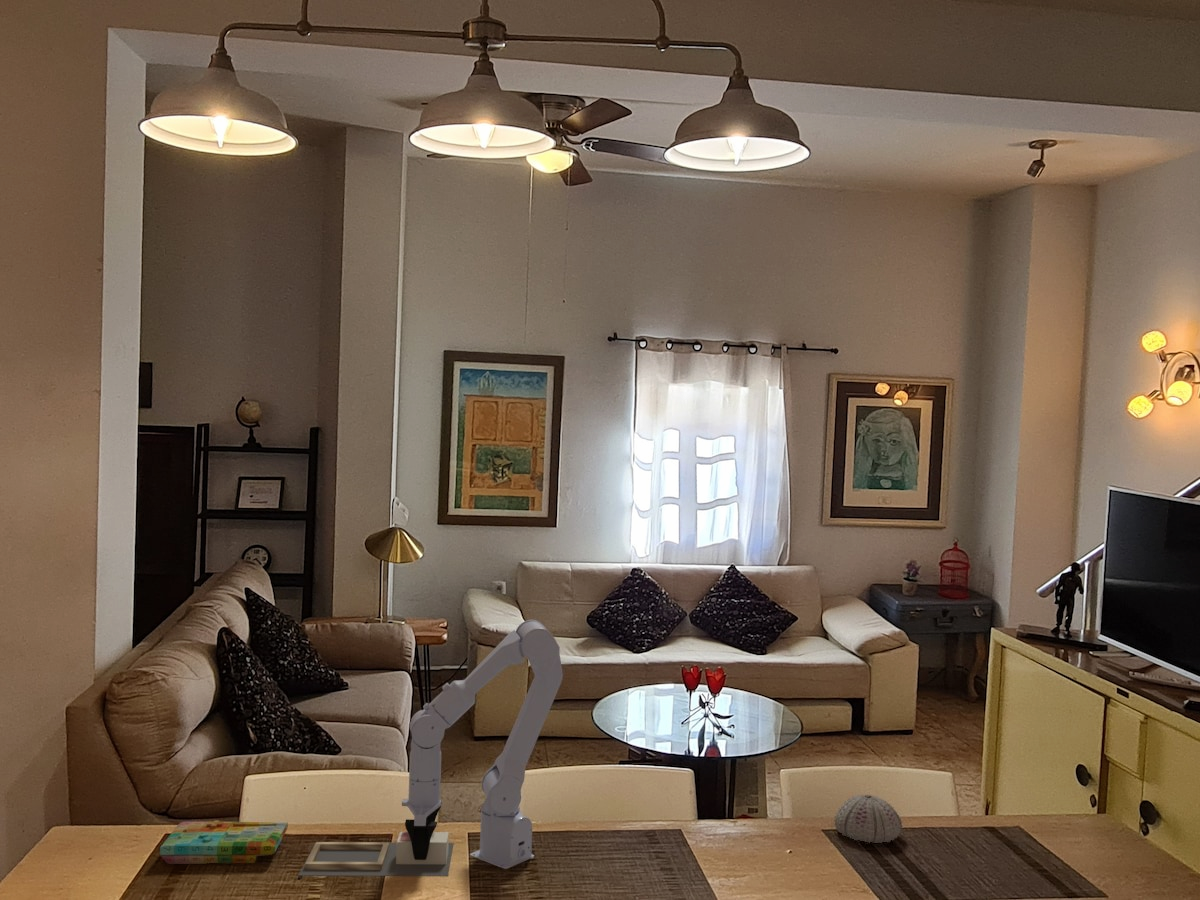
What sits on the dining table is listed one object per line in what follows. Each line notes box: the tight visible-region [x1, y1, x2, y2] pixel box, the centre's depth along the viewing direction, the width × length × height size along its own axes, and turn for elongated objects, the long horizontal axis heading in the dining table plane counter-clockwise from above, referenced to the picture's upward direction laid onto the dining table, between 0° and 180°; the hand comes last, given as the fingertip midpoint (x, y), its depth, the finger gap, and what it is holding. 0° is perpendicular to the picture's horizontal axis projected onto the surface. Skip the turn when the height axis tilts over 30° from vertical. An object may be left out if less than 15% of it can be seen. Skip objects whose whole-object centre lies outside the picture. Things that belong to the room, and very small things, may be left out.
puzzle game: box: [159, 819, 289, 865], centre depth 195 cm, size 12×5×20 cm
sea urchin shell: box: [834, 794, 903, 844], centre depth 214 cm, size 13×14×8 cm
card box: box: [396, 831, 450, 864], centre depth 194 cm, size 9×5×4 cm, turn 94°
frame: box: [304, 841, 389, 870], centre depth 193 cm, size 14×10×1 cm
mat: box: [298, 841, 455, 879], centre depth 193 cm, size 26×15×1 cm, turn 94°
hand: (422, 850), depth 194 cm, fingers open, 7 cm apart
